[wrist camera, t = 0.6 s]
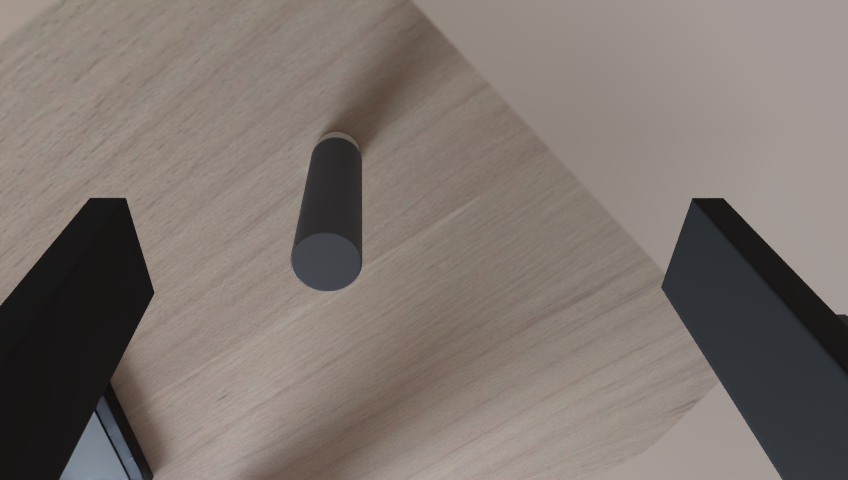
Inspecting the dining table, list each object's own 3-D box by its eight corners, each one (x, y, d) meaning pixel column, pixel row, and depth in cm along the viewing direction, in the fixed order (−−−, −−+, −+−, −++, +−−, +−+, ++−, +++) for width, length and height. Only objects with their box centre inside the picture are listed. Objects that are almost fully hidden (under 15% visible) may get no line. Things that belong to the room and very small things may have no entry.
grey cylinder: (308, 132, 32) (284, 235, 22) (358, 127, 32) (357, 228, 22) (317, 177, 34) (297, 295, 23) (364, 172, 34) (366, 287, 23)
